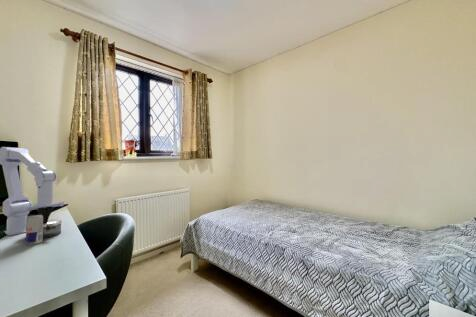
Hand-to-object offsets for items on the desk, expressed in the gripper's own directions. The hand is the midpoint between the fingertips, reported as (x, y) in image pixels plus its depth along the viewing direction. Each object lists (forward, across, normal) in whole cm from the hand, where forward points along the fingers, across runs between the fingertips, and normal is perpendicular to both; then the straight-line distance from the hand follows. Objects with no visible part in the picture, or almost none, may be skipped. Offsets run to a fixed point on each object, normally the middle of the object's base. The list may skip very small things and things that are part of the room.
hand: (44, 222), depth 107 cm
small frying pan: (+1, 0, -2) cm, 2 cm away
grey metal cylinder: (+6, 0, +1) cm, 6 cm away
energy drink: (+6, -6, -9) cm, 13 cm away
